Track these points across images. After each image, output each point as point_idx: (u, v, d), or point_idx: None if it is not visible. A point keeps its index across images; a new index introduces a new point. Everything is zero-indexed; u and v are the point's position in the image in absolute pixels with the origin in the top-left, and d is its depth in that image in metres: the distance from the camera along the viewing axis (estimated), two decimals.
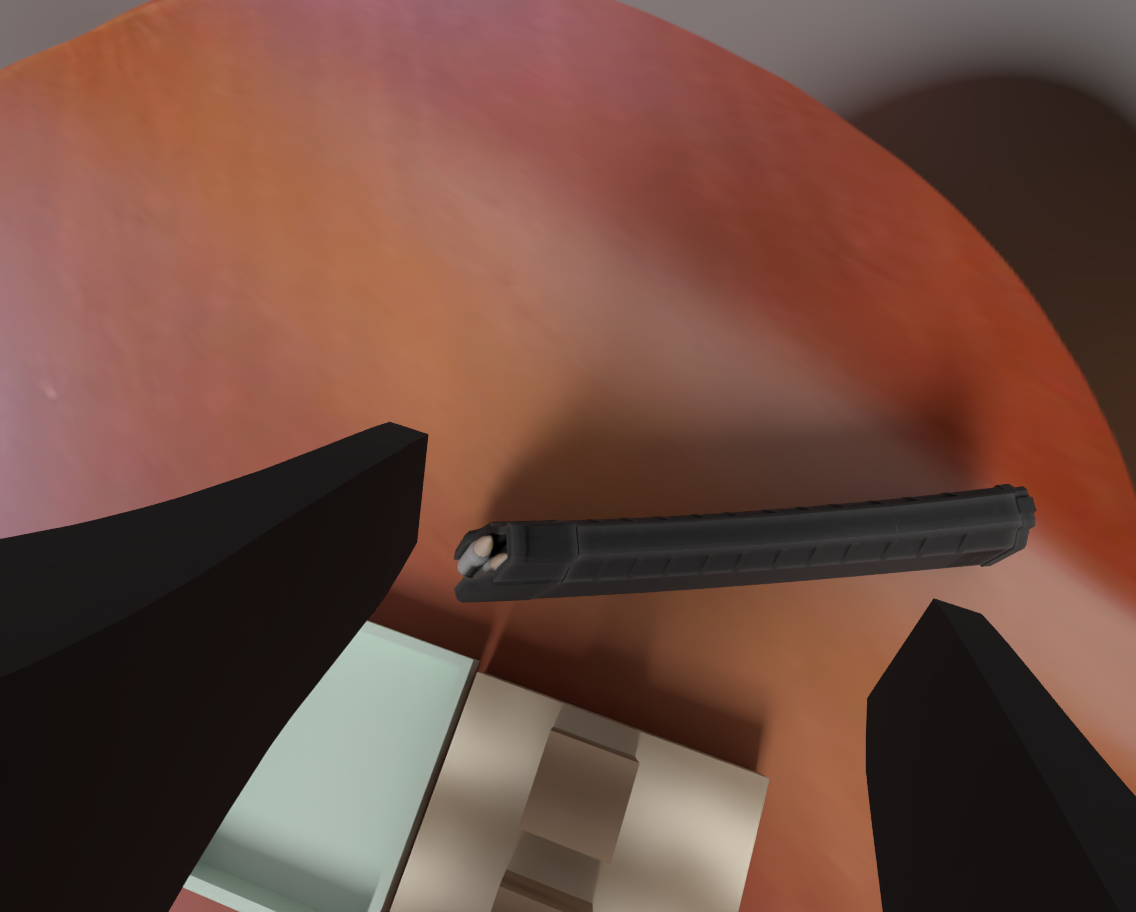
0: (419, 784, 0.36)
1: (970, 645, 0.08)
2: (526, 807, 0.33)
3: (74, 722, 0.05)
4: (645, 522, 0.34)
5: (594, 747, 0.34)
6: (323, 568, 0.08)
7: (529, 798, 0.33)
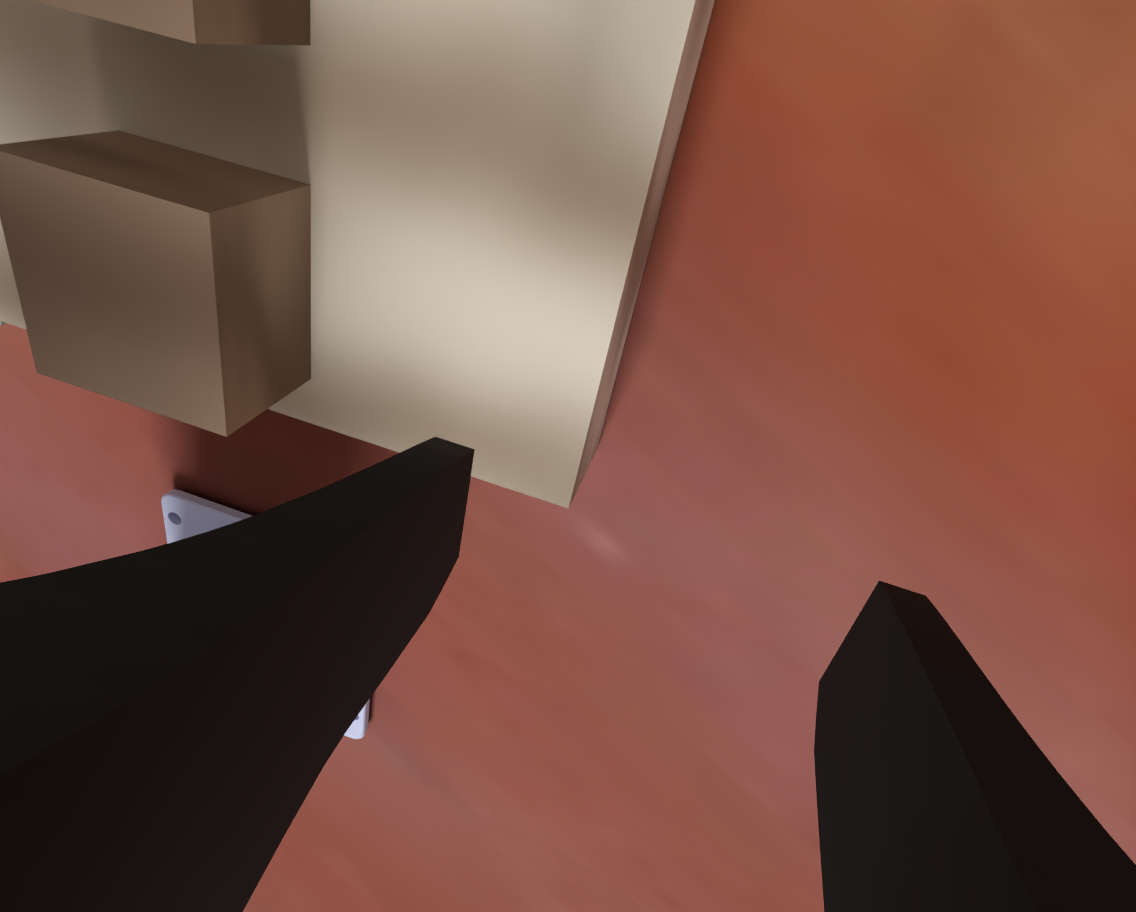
0: None
1: (908, 625, 0.08)
2: None
3: (160, 757, 0.05)
4: None
5: None
6: (378, 588, 0.08)
7: None
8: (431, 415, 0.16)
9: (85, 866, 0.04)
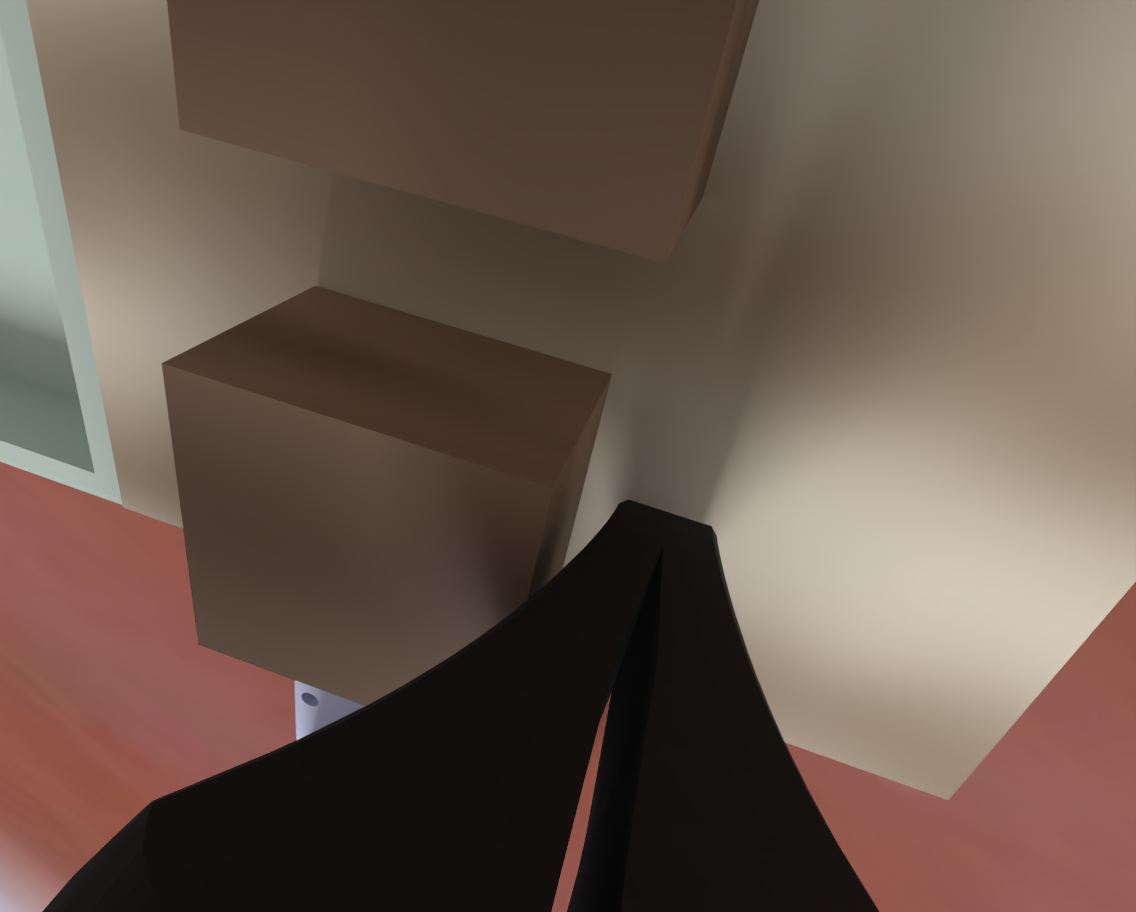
0: (17, 48, 0.10)
1: (670, 546, 0.08)
2: (174, 7, 0.06)
3: None
4: None
5: None
6: (614, 672, 0.08)
7: None
8: (762, 676, 0.12)
9: None
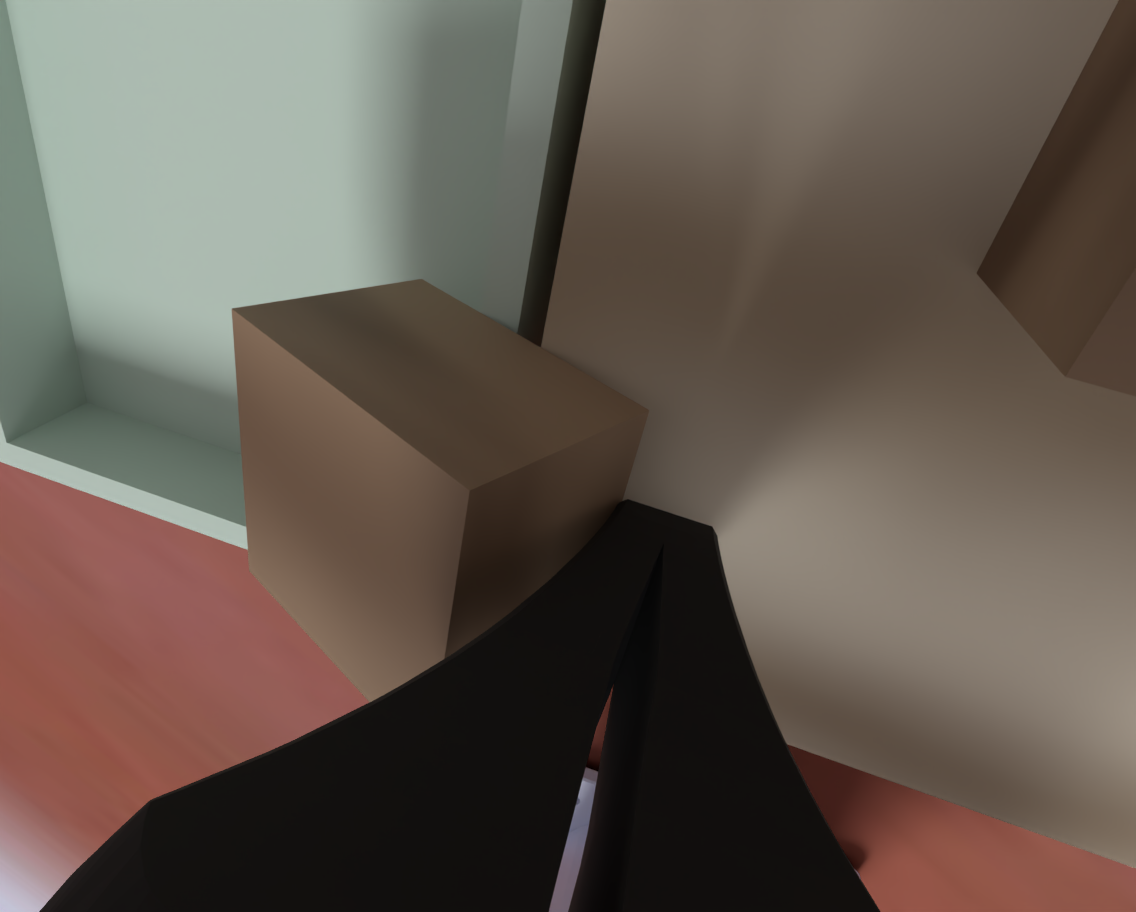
0: (513, 182, 0.09)
1: (671, 546, 0.08)
2: None
3: None
4: None
5: None
6: (613, 672, 0.08)
7: None
8: None
9: None
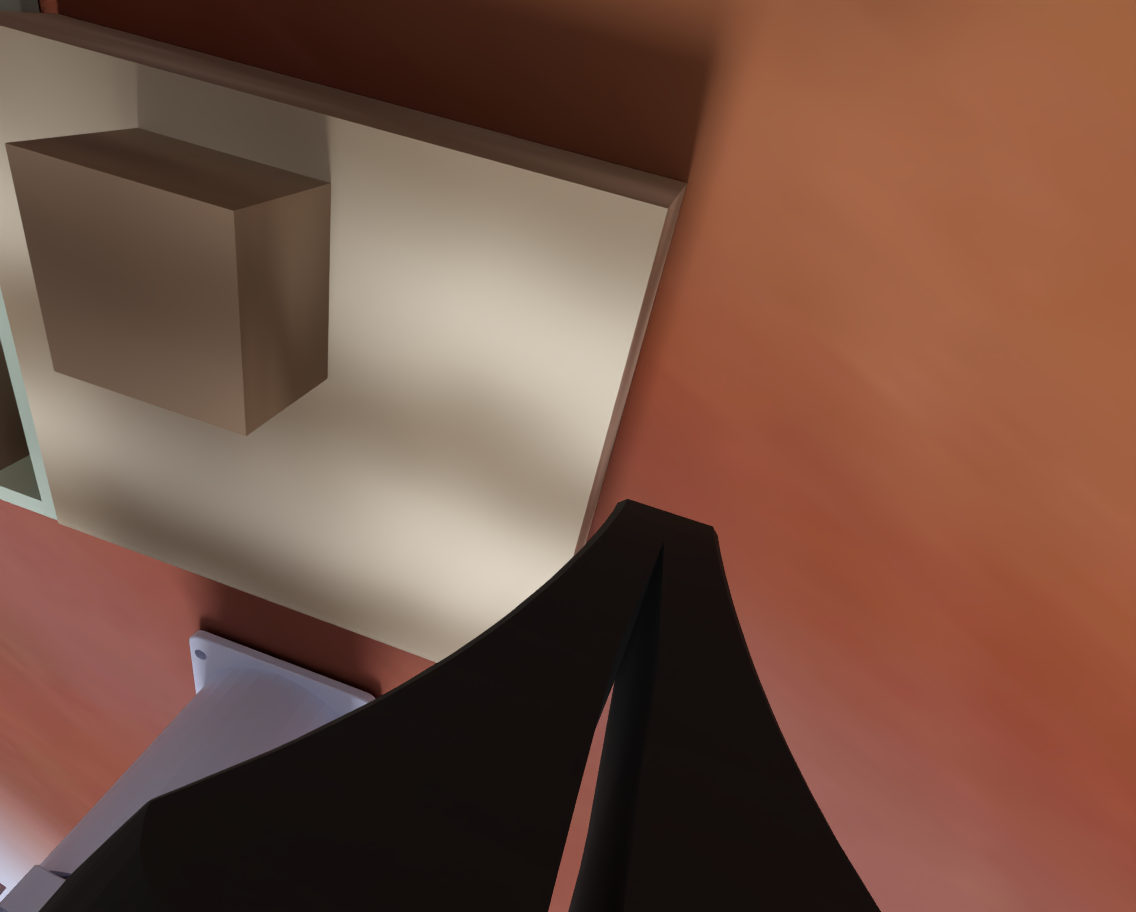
0: None
1: (671, 546, 0.08)
2: (48, 330, 0.14)
3: None
4: None
5: (117, 178, 0.12)
6: (613, 672, 0.08)
7: (43, 312, 0.14)
8: (422, 625, 0.20)
9: None
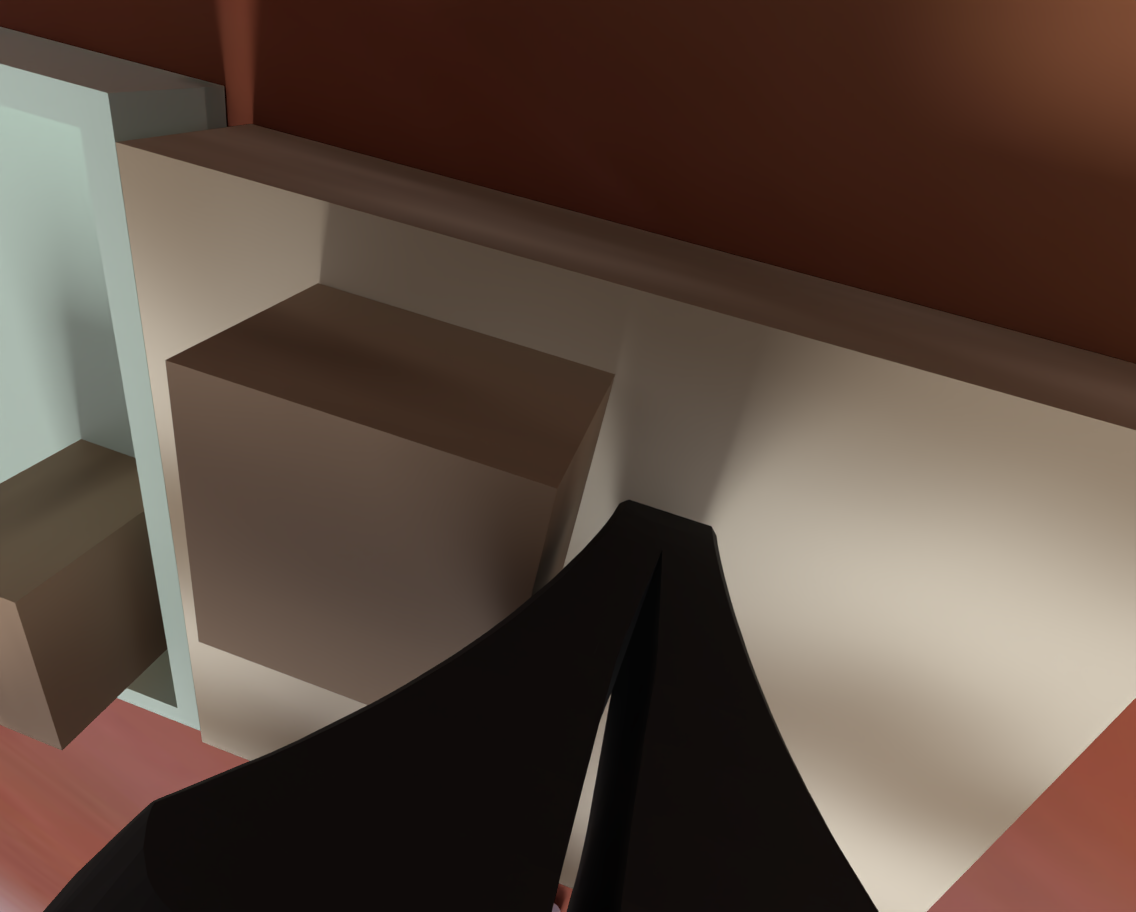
0: (145, 464, 0.14)
1: (670, 546, 0.08)
2: (197, 595, 0.09)
3: None
4: None
5: (354, 426, 0.07)
6: (614, 672, 0.08)
7: (194, 574, 0.09)
8: None
9: None
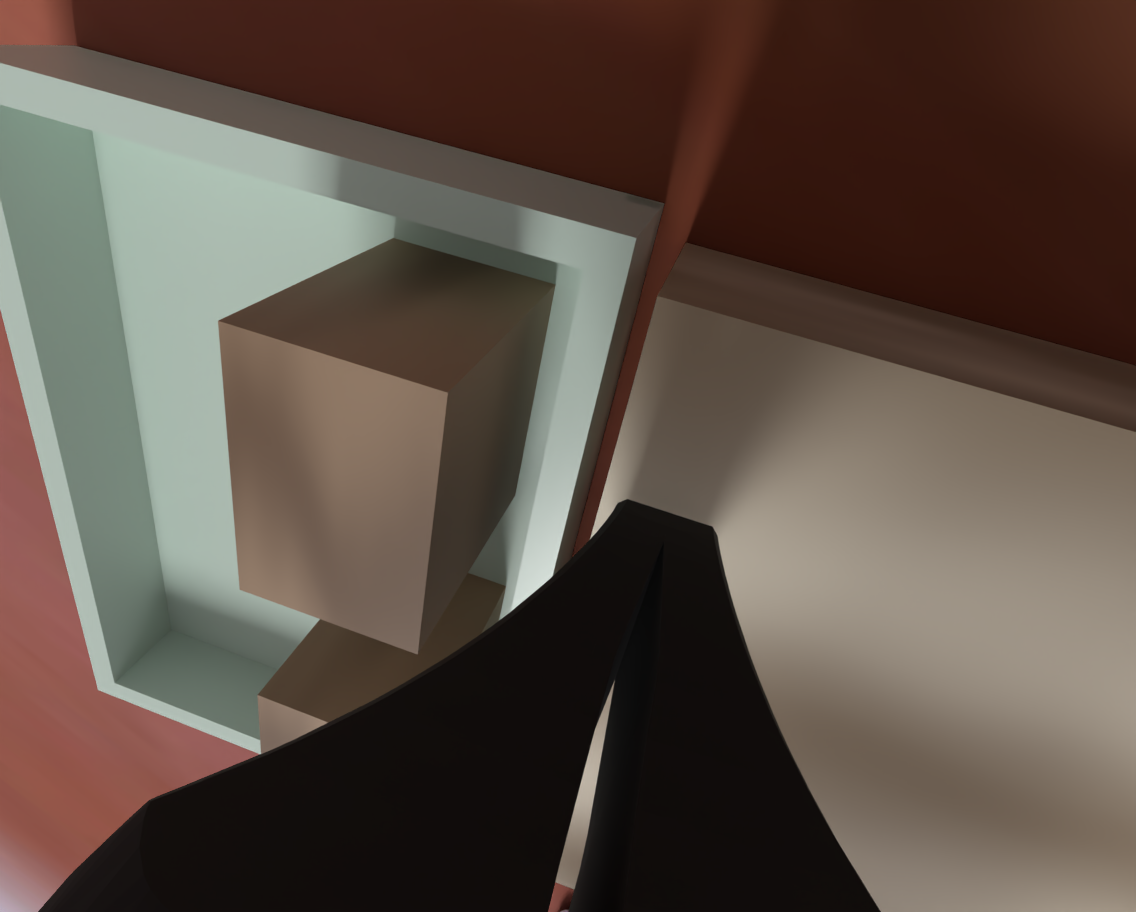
0: (525, 596, 0.13)
1: (671, 546, 0.08)
2: None
3: None
4: None
5: None
6: (613, 672, 0.08)
7: None
8: None
9: None
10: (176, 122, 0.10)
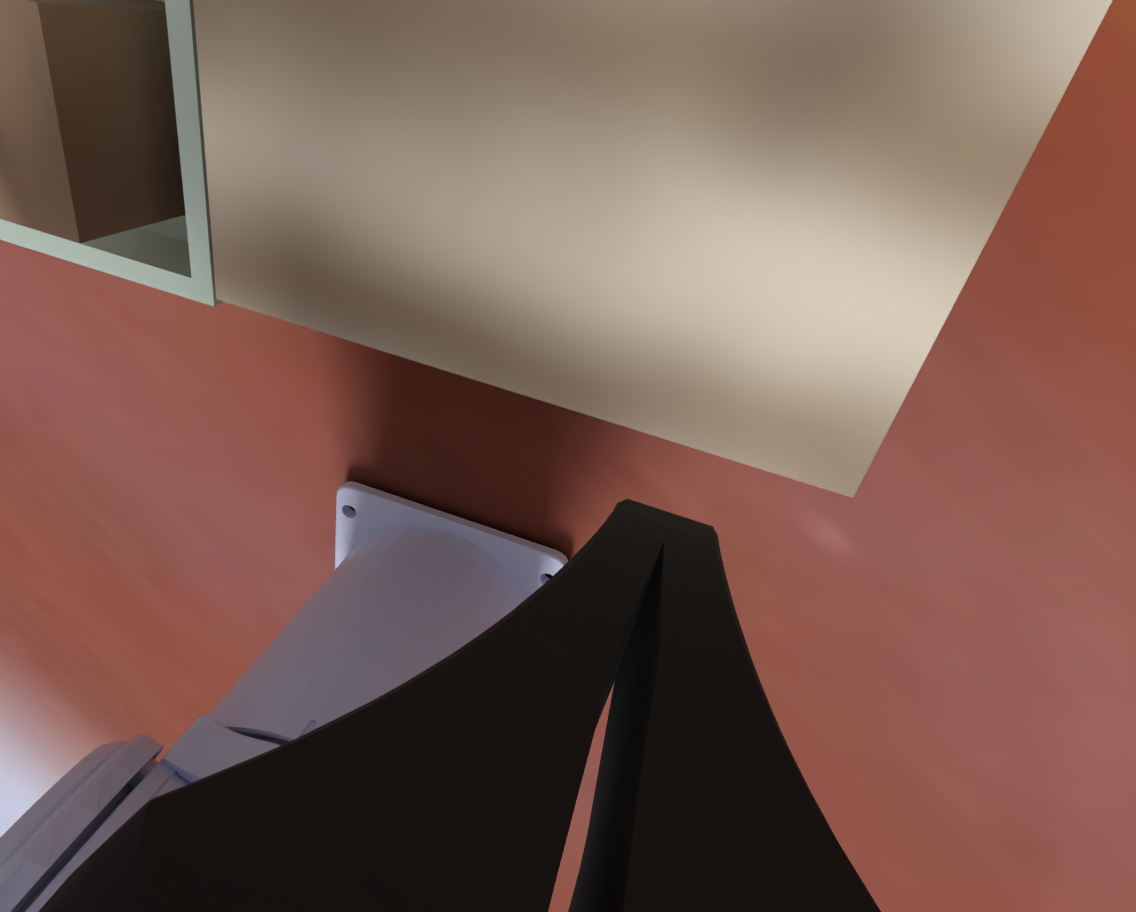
0: None
1: (671, 546, 0.08)
2: None
3: None
4: None
5: None
6: (613, 672, 0.08)
7: None
8: (711, 398, 0.15)
9: None
10: None
